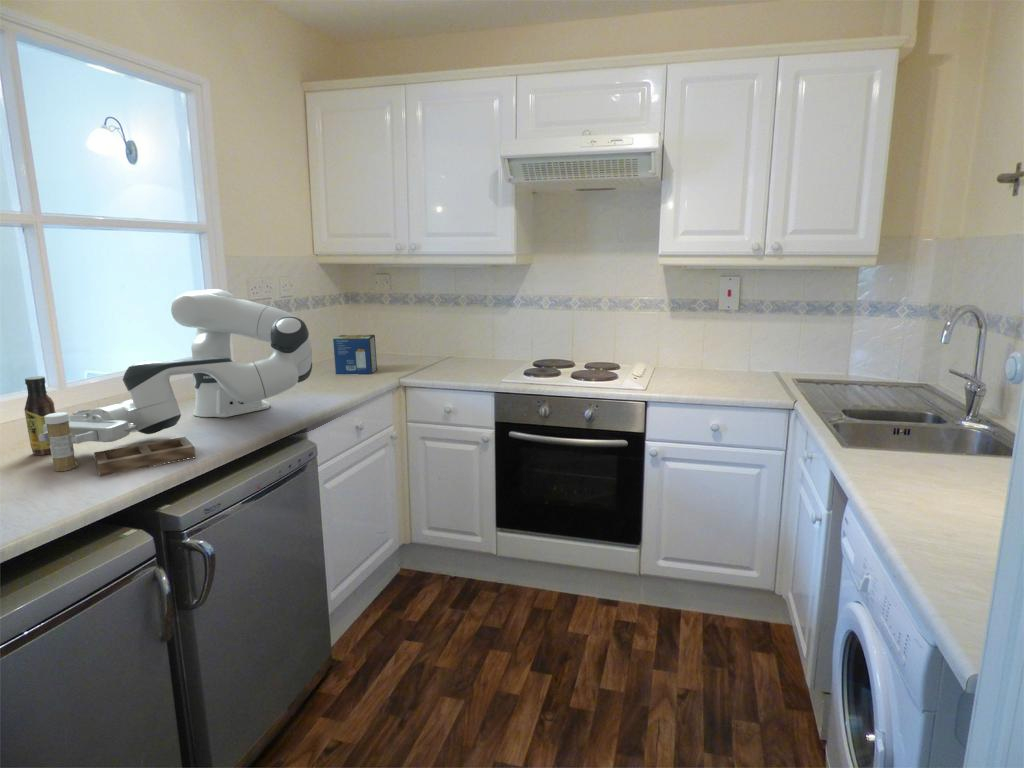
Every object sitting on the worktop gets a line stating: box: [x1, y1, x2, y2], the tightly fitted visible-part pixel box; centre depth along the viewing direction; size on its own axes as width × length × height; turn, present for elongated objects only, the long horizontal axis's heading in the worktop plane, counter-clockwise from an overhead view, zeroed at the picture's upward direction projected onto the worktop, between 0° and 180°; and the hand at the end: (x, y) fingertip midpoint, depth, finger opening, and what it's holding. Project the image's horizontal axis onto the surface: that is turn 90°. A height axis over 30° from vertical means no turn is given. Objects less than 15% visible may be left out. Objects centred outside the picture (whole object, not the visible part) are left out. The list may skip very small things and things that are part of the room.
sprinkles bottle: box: [44, 411, 78, 472], centre depth 147 cm, size 5×5×13 cm
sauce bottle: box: [23, 375, 57, 456], centre depth 159 cm, size 6×6×20 cm
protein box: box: [332, 334, 378, 375], centre depth 263 cm, size 10×15×16 cm
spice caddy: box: [93, 436, 196, 477], centre depth 152 cm, size 20×11×3 cm, turn 128°
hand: (57, 439), depth 146 cm, fingers open, 8 cm apart
